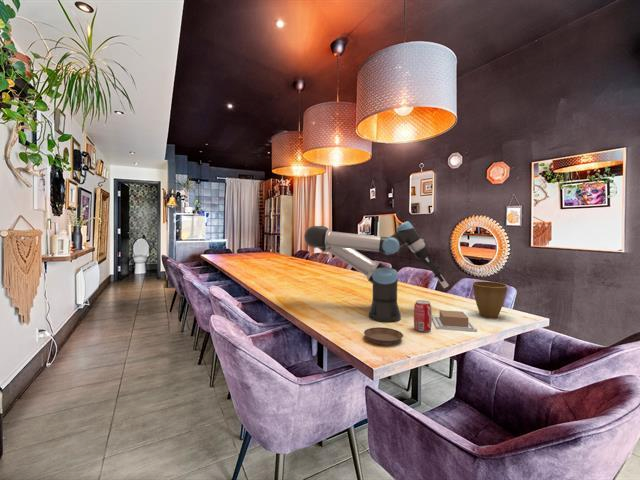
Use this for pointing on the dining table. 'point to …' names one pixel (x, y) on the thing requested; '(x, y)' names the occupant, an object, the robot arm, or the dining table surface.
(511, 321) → the dining table surface
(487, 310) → the plant pot
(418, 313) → the soda can
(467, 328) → the base
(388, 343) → the saucer
